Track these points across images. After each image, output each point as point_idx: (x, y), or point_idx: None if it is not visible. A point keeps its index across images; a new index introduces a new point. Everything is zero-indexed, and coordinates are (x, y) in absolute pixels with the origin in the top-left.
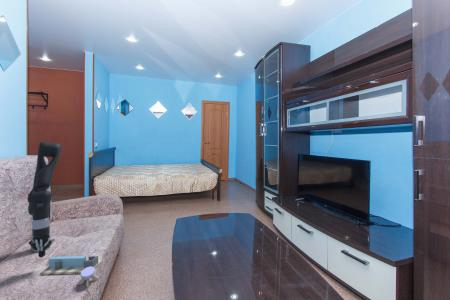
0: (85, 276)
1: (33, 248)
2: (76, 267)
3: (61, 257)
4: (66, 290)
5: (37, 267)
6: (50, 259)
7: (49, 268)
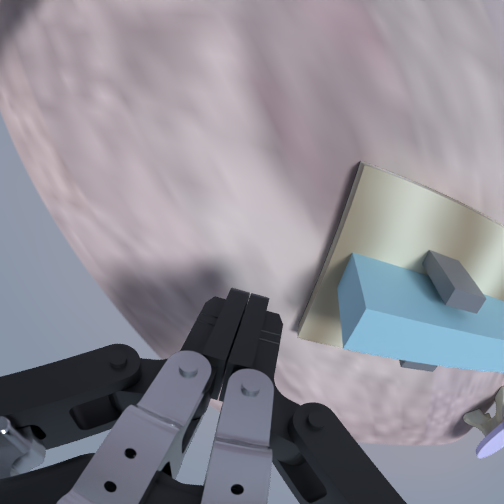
0: (483, 457)
1: (100, 403)
2: None
3: (453, 347)
4: (429, 433)
5: (210, 195)
6: (360, 347)
7: None
